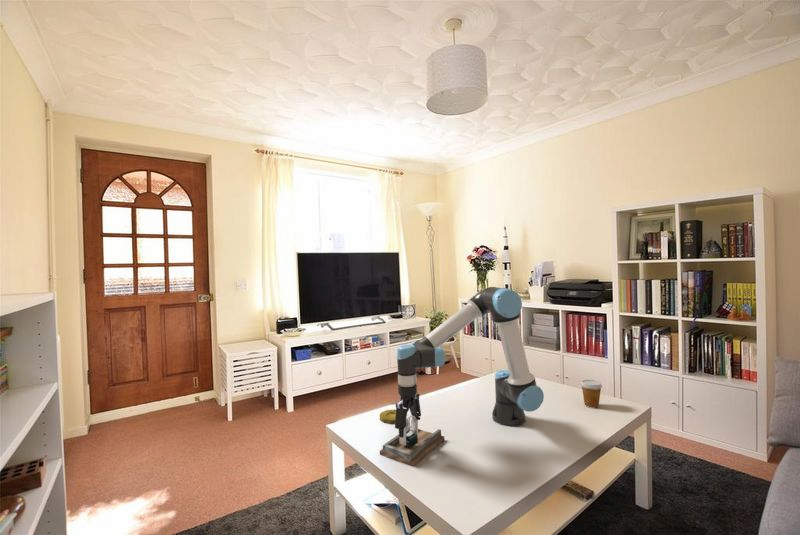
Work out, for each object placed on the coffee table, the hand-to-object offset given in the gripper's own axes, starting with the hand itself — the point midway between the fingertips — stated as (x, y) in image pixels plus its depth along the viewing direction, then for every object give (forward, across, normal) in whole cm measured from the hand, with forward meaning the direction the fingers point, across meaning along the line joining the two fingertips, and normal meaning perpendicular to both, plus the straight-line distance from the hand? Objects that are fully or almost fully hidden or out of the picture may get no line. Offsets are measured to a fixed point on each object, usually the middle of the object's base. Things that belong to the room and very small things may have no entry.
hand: (409, 439), depth 152 cm
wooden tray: (+4, -3, 0) cm, 5 cm away
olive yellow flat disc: (+5, -21, -24) cm, 32 cm away
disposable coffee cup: (+5, -86, +54) cm, 102 cm away
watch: (+1, 0, 0) cm, 1 cm away
